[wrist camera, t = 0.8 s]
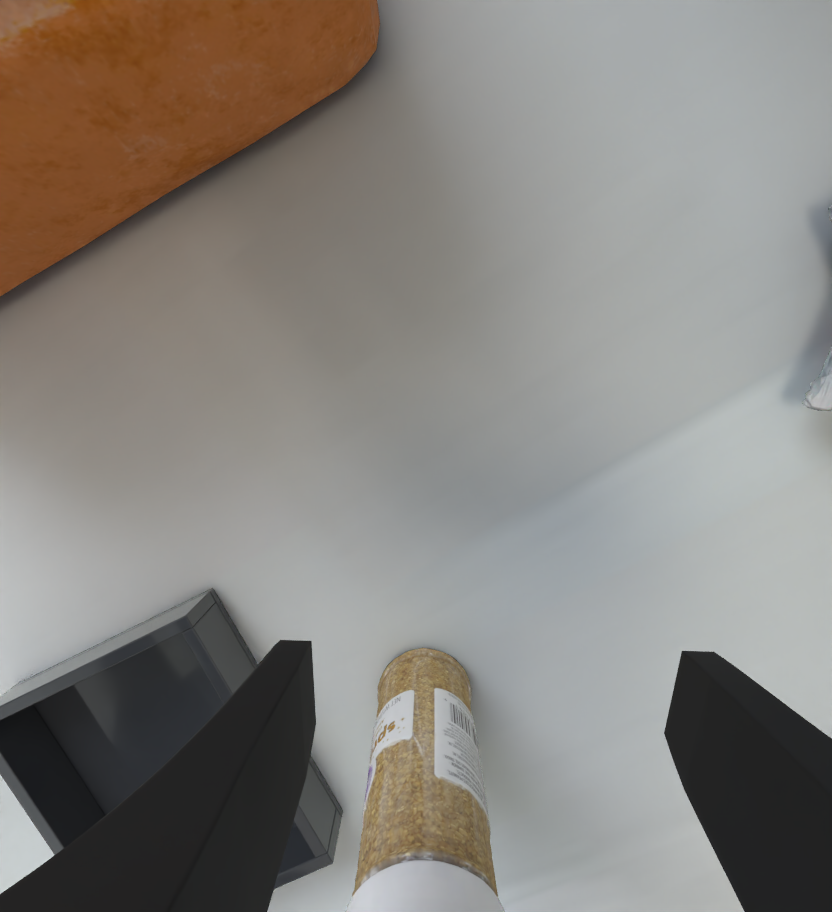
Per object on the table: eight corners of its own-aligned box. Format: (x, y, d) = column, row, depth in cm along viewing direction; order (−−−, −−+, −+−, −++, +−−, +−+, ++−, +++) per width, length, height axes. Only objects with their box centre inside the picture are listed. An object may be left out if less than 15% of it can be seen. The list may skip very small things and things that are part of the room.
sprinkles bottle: (369, 654, 26) (311, 945, 13) (462, 637, 26) (501, 913, 13) (389, 739, 27) (354, 1099, 14) (480, 723, 27) (535, 1072, 13)
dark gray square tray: (343, 811, 28) (333, 864, 25) (153, 895, 28) (121, 955, 25) (212, 587, 26) (185, 615, 23) (16, 684, 27) (-35, 723, 24)
